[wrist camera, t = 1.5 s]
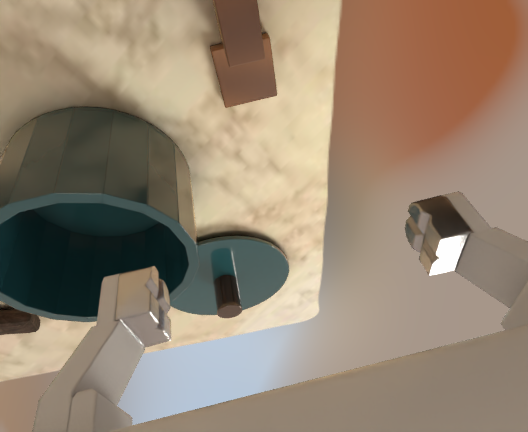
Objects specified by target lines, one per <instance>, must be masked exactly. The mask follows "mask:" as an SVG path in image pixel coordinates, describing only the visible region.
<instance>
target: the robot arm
mask: <svg viewBox="0 0 528 432" xmlns="http://www.w3.org/2000/svg"><path fill="white" fill-rule="evenodd" d="M408 212H409V214H410V215H411V216H410V217H409V218H408V219H407V220H406V225H405V231H406V236H407V239H408V242H409V243H410V245H411V247H412V248H413V249H414V250H416V251H418V252H420V256H419V260H420V262H421V264H422V265H423V267H424V269H425V270H426V272H427V273H428V275H429V276H431V275H435V274H440V273H444V272H449V271H453V270H455V272H456V273H458V274H460V275H461V276H462V277H464V278H465V279H467V280H468V281H470V282H471V283H473V284H475V285H476V286H477V287H479V288H480V289H482V290H483V291H485V292H486V293H488V294H489V295H491V296H492V297H494V298H495V299H497V300H498V301H500V302H502V303H503V304H505V305H506V306H507V307H509V308H510V309H509V311H508V312H507V314H506V315H505V316H504V318H503V320H502V322H501V325H502V326H503V328H504V329H505V330H504V331H500V332H497V333H493V334H489V335H485V336H481V337H477V338H473V339H469V340H465V341H462V342H457V343H453V344H450V345H446V346H442V347H438V348H434V349H430V350H426V351H422V352H418V353H415V354H410V355H406V356H402V357H399V358H395V359H391V360H387V361H383V362H379V363H375V364H372V365H367V366H363V367H360V368H355V369H352V370H348V371H344V372H340V373H336V374H332V375H328V376H324V377H320V378H316V379H312V380H308V381H305V382H301V383H297V384H293V385H289V386H285V387H281V388H277V389H273V390H270V391H265V392H261V393H258V394H254V395H250V396H246V397H242V398H238V399H234V400H230V401H226V402H223V403H218V404H215V405H211V406H207V407H203V408H199V409H195V410H192V411H187V412H183V413H179V414H175V415H172V416H168V417H164V418H160V419H156V420H152V421H148V422H144V423H140V424H137V425H132V417H131V416H130V415H129V414H127V413H126V412H124V411H123V410H122V409H120V408H119V407H117V404H118V402H119V400H120V398H121V396H122V394H123V392H124V390H125V388H126V386H127V384H128V382H129V380H130V378H131V376H132V374H133V372H134V370H135V368H136V366H137V364H138V362H139V360H140V358H141V356H142V354H143V352H144V350H145V347H149V346H152V345H156V344H159V343H163V342H167V341H170V340H171V320H170V319H169V317H168V316H167V313H168V311H169V309H170V297H169V292H168V289H167V286H166V284H165V282H164V280H162V279H159V272H158V271H157V269H156V268H155V266H152V267H147V268H143V269H138V270H134V271H129V272H124V273H120V274H116V275H111V276H107V277H104V279H103V281H102V285H101V293H100V301H99V309H98V317H97V325H96V326H94V327H91V329H90V330H89V331H88V333H87V334H86V336H85V337H84V338H83V340H82V341H81V343H80V344H79V345H78V347H77V348H76V349H75V351H74V352H73V354H72V355H71V356H70V358H69V359H68V361H67V362H66V363H65V365H64V366H63V367H62V369H61V370H60V372H59V373H58V374H57V376H56V377H55V379H54V380H53V381H52V383H51V384H50V385H49V387H48V388H47V390H46V391H45V393H44V394H43V395H42V397H41V398H40V399H39V401H38V406H37V411H36V416H35V421H34V425H33V430H32V432H528V241H526V240H523V239H521V238H519V237H517V236H514V235H512V234H510V233H508V232H506V231H504V230H501V229H499V228H497V227H495V228H491V227H490V226H489V224H488V223H487V222H486V221H485V220H484V218H483V217H482V216H481V215H480V214H479V213H478V211H477V210H476V209H475V208H474V207H473V205H472V204H471V203H470V202H469V201H468V199H467V198H466V197H465V196H464V195H463V193H461V192H459V191H458V192H454V193H450V194H445V195H442V196H441V195H440V196H436V197H432V198H428V199H424V200H420V201H417V202H413V203H411V204H410V205H409V209H408Z"/></svg>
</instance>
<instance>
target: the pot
mask: <svg viewBox="0 0 528 432" xmlns="http://www.w3.org/2000/svg"><path fill="white" fill-rule="evenodd" d="M199 265H200V262H199V252H198V242H197V233H196V223H195V213H194V203H193V194H192V185H191V178H190V171H189V167H188V164H187V162H186V160H185V158H184V155H183V154H182V152H181V151H180V149H179V148H178V146H177V145H176V144H175V143H174V142H173V141H172V140H171V139H170V138H169V137H168V136H167V135H166V134H164V133H163V132H162V131H161V130H159V129H158V128H156V127H155V126H153V125H152V124H150V123H148V122H146V121H144V120H142V119H140V118H138V117H135V116H132V115H130V114H127V113H124V112H120V111H116V110H112V109H105V108H98V107H74V108H66V109H60V110H56V111H53V112H49V113H46V114H43V115H41V116H39V117H37V118H35V119H33V120H31V121H30V122H28V123H27V124H25V125H24V126H23V127H21V128H20V129H19V130H18V131H17V132H16V133H15V134H14V135H13V137H12V138H11V140H10V141H9V143H8V146H7V148H6V150H5V152H4V154H3V156H2V158H1V160H0V301H1V302H3V303H5V304H7V305H9V306H11V307H13V308H15V309H17V310H20V311H23V312H27V313H31V314H35V315H38V316H42V317H46V318H50V319H55V320H67V321H78V322H95V321H97V317H98V309H99V301H100V293H101V285H102V281H103V279H104V277H107V276H111V275H116V274H120V273H124V272H129V271H134V270H138V269H143V268H147V267H152V266H155V268H156V269H157V271H158V272H159V279H162V280H164V282H165V284H166V286H167V289H168V292H169V297H170V302H171V301H173V300H175V299H176V298H177V297H178V296H179V295H180V294H181V293H182V292H183V291H184V290H186V289H187V288H188V287H189V286H190V285H191V284H192V282H193V279H194V277H195V275H196V272H197V270H198V268H199Z"/></svg>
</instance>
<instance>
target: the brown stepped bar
mask: <svg viewBox="0 0 528 432" xmlns="http://www.w3.org/2000/svg"><path fill="white" fill-rule="evenodd" d="M212 1H213V5H214V9H215V14H216V18H217V23H218V27H219V32H220V36H221V40H222V44H218V45H214V46H210V49H211V53H212V57H213V61H214V65H215V69H216V73H217V77H218V81H219V85H220V89H221V93H222V97H223V100H224V104H225V107H226V108H227V107H231V106H235V105H239V104H243V103H248V102H252V101H256V100H260V99H264V98H269V97H273V96H277V90H276V82H275V74H274V67H273V59H272V51H271V44H270V38H269V35H268V34H267V33H265V34H262V32H261V25H260V18H259V11H258V4H257V0H212Z"/></svg>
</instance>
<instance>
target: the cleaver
mask: <svg viewBox="0 0 528 432" xmlns="http://www.w3.org/2000/svg"><path fill="white" fill-rule="evenodd" d="M39 327H40V319H39V317H38V316H37V315H35V314H31V313H27V312H23V311H20V310H17V309H15V310H0V335H4V334H18V333H31V332H36V331H37V330H38V329H39Z"/></svg>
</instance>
